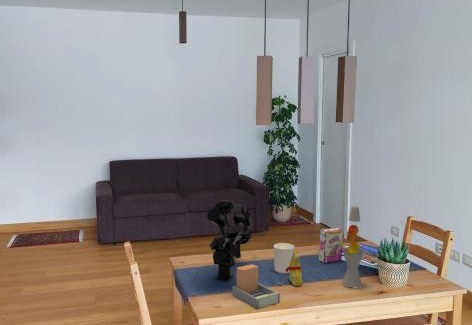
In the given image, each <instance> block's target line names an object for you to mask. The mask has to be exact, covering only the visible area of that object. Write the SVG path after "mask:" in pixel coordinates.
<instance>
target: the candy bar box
mask: <svg viewBox="0 0 472 325" xmlns="http://www.w3.org/2000/svg"><path fill="white" fill-rule="evenodd" d="M343 242H344V229H341V228H339V227H335V228H324V229H320V230H319V249H318V251H319V252H318V261H319V262H320V261H321V263H322V264H329V263H328V262H331V263H335V262H334V261H338V262H340V261H339V260H341V258H342V259H343V248H344V247H343V244H344V243H343Z"/></svg>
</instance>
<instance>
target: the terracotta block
mask: <svg viewBox="0 0 472 325" xmlns="http://www.w3.org/2000/svg"><path fill="white" fill-rule="evenodd" d="M258 283H259V266H257V265H255V264H253V263H252V264H251V263H250V264H247V265H243V266H238V267H236V287H237V288H239V289H241V290H242V291H244V292H246V293H249V292H252V291H256V290H258Z"/></svg>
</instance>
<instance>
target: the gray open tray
mask: <svg viewBox="0 0 472 325" xmlns="http://www.w3.org/2000/svg"><path fill="white" fill-rule="evenodd" d="M280 295H281V292H279V291H275V290H273V289H272V288H269V287H267V286H265V285H263V284H261V283H259V282H258V290H256V291H252V292H249V293H246V292H244V291H242V290H241V289H239V288H237V286H234V285H233V286H232V296H234V297H236V298H237V299H239V300H241V301H242V302H243V301H244V302H245V303H247V304H248V305H250V306H252V307H253V308H255V309H261V308H265V307H267V306H271V305H275V304H278V303H280V298H281V296H280Z"/></svg>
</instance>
